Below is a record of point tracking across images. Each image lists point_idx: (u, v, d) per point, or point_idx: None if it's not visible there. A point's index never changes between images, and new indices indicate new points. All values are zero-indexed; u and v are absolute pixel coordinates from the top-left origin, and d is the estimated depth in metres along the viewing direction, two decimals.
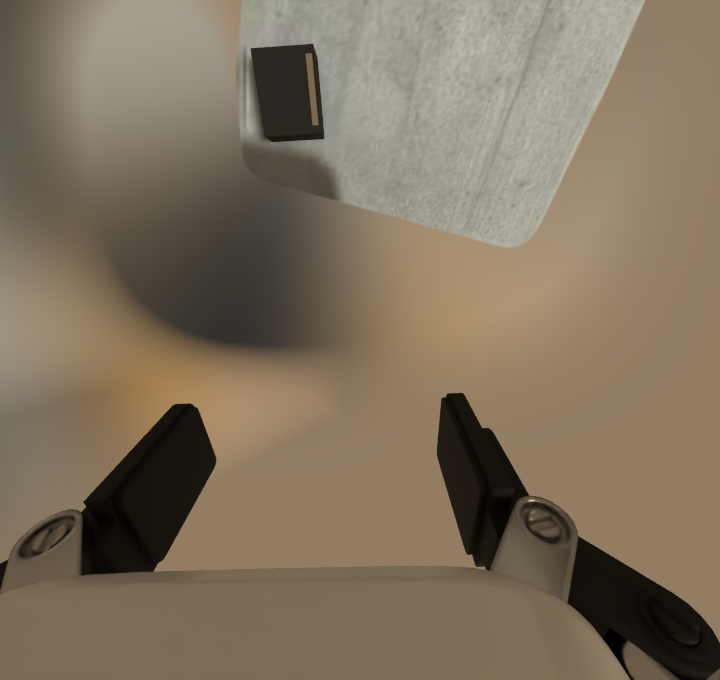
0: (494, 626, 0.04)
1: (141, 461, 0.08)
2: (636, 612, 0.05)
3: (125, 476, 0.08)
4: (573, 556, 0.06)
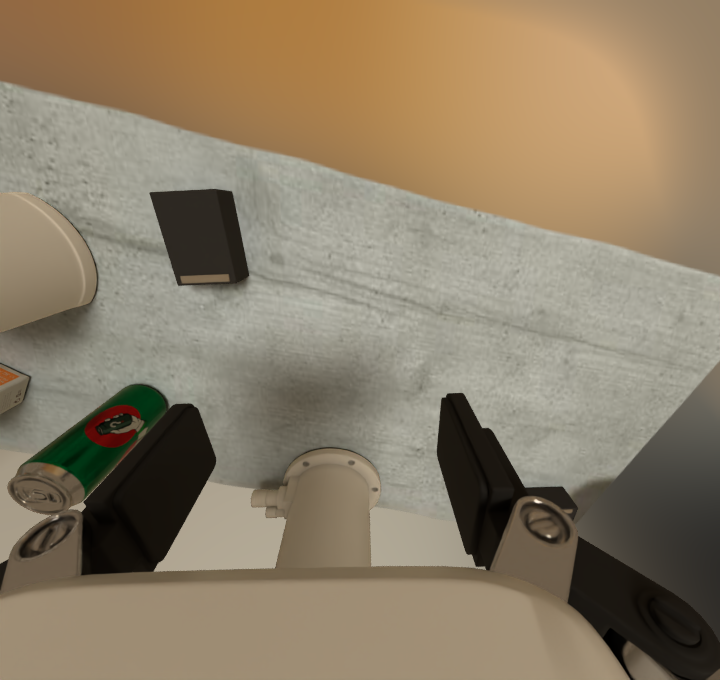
0: (494, 626, 0.04)
1: (141, 461, 0.08)
2: (636, 612, 0.05)
3: (126, 475, 0.08)
4: (573, 556, 0.06)
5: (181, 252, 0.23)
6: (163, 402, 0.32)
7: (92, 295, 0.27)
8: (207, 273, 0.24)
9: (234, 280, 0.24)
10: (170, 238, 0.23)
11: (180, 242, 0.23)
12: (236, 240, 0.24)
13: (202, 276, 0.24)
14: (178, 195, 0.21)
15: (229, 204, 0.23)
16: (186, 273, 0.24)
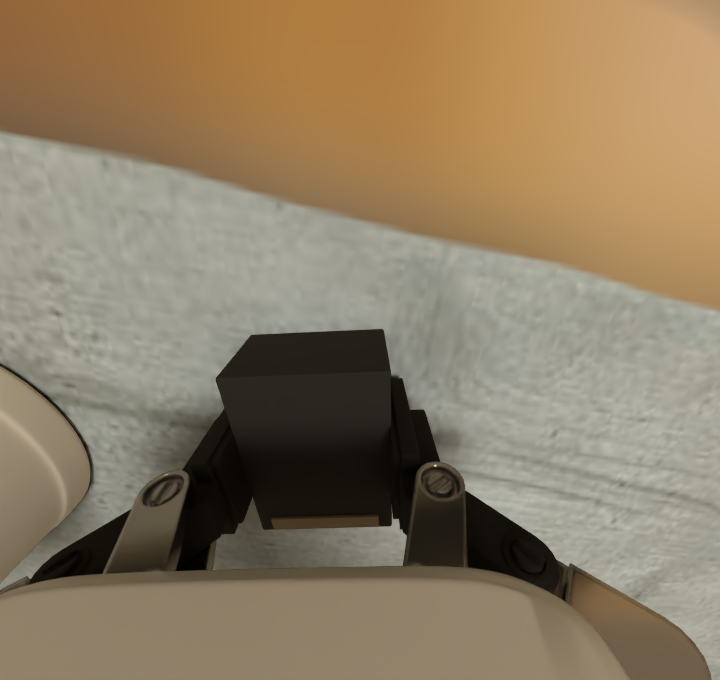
0: (494, 626, 0.04)
1: (227, 431, 0.09)
2: (503, 561, 0.06)
3: (218, 442, 0.09)
4: (464, 501, 0.07)
5: (280, 482, 0.10)
6: None
7: (83, 495, 0.14)
8: (332, 513, 0.11)
9: (387, 522, 0.11)
10: (257, 460, 0.10)
11: (280, 467, 0.10)
12: None
13: (318, 517, 0.11)
14: (289, 383, 0.08)
15: None
16: (285, 514, 0.11)
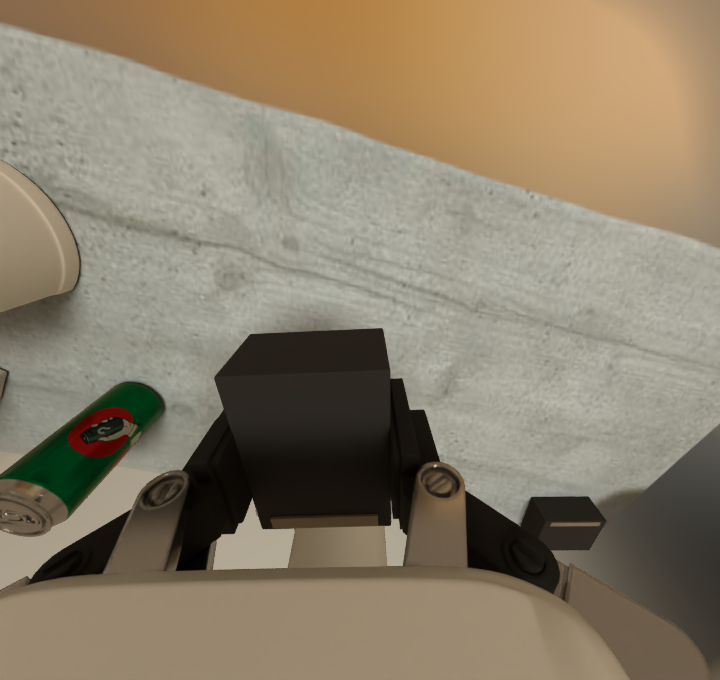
0: (494, 626, 0.04)
1: (227, 431, 0.09)
2: (503, 561, 0.06)
3: (218, 442, 0.09)
4: (464, 501, 0.07)
5: (279, 481, 0.10)
6: (159, 402, 0.29)
7: (74, 281, 0.23)
8: (331, 512, 0.11)
9: (387, 521, 0.11)
10: (256, 459, 0.10)
11: (279, 466, 0.10)
12: None
13: (318, 516, 0.11)
14: (288, 382, 0.08)
15: None
16: (284, 513, 0.11)
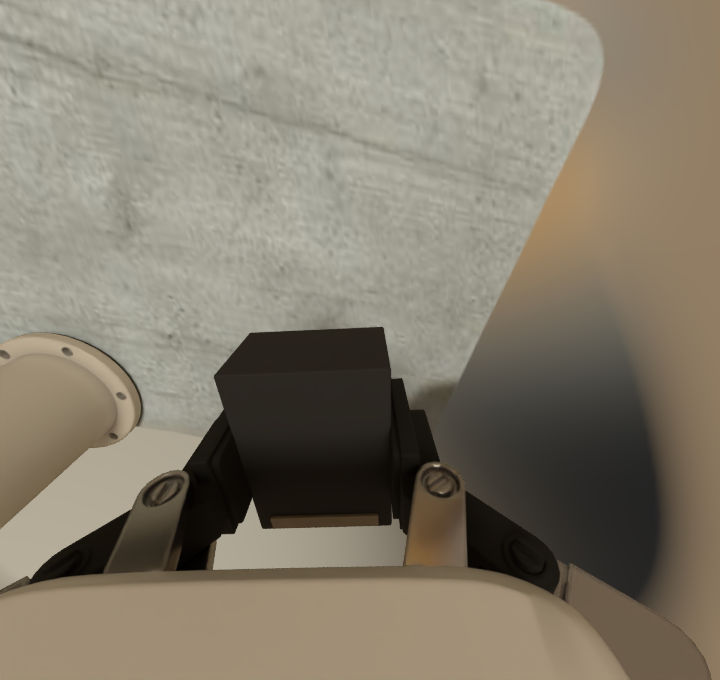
0: (494, 626, 0.04)
1: (227, 431, 0.09)
2: (503, 561, 0.06)
3: (218, 442, 0.09)
4: (464, 501, 0.07)
5: (279, 481, 0.10)
6: None
7: None
8: (331, 512, 0.11)
9: (387, 521, 0.11)
10: (256, 459, 0.09)
11: (279, 466, 0.10)
12: None
13: (318, 516, 0.11)
14: (288, 381, 0.08)
15: None
16: (285, 512, 0.11)
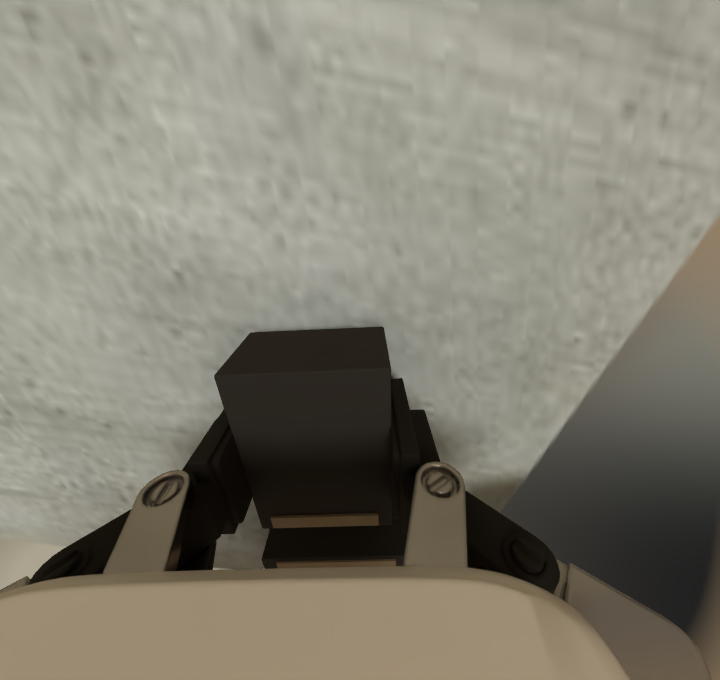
0: (494, 626, 0.04)
1: (227, 431, 0.09)
2: (503, 561, 0.06)
3: (218, 442, 0.09)
4: (464, 501, 0.07)
5: (280, 480, 0.10)
6: None
7: None
8: (331, 511, 0.11)
9: (387, 521, 0.11)
10: (257, 458, 0.09)
11: (279, 465, 0.10)
12: None
13: (318, 516, 0.11)
14: (288, 381, 0.08)
15: None
16: (285, 512, 0.11)
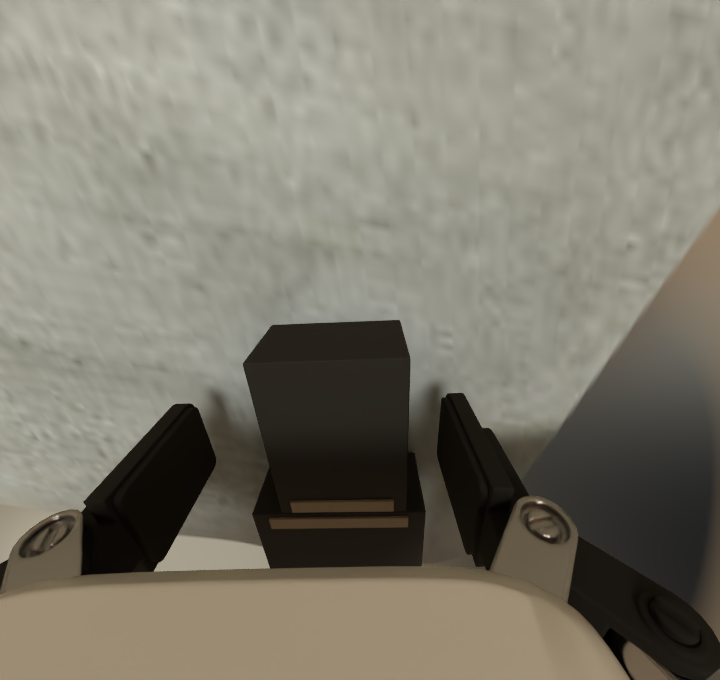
0: (494, 626, 0.04)
1: (141, 461, 0.08)
2: (636, 612, 0.05)
3: (125, 476, 0.08)
4: (573, 556, 0.06)
5: (300, 466, 0.10)
6: None
7: None
8: (348, 497, 0.11)
9: (402, 507, 0.11)
10: (279, 444, 0.10)
11: (300, 451, 0.10)
12: None
13: (336, 501, 0.11)
14: (313, 369, 0.09)
15: None
16: (304, 497, 0.11)
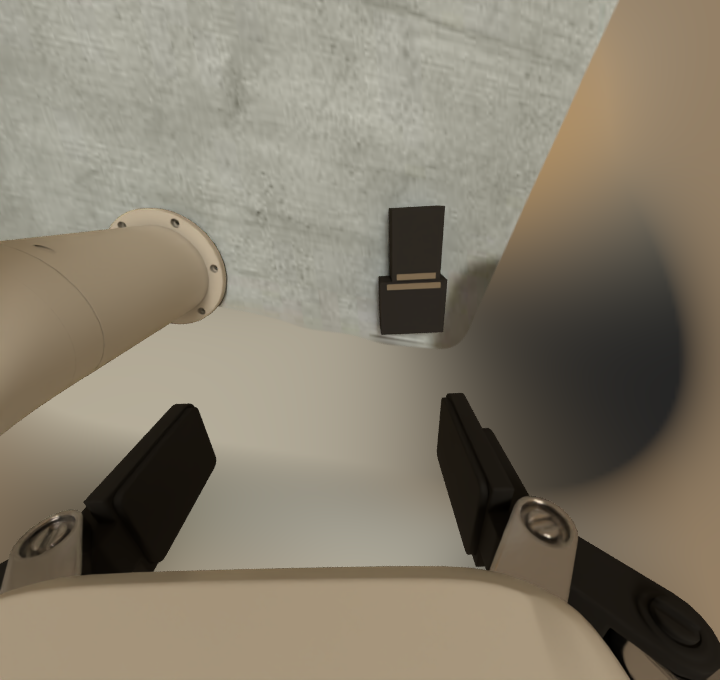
0: (494, 626, 0.04)
1: (141, 461, 0.08)
2: (636, 612, 0.05)
3: (125, 476, 0.08)
4: (573, 556, 0.06)
5: (403, 255, 0.29)
6: None
7: None
8: (418, 272, 0.30)
9: (438, 277, 0.30)
10: (397, 244, 0.29)
11: (404, 247, 0.29)
12: None
13: (413, 274, 0.30)
14: (414, 211, 0.27)
15: None
16: (402, 272, 0.30)
